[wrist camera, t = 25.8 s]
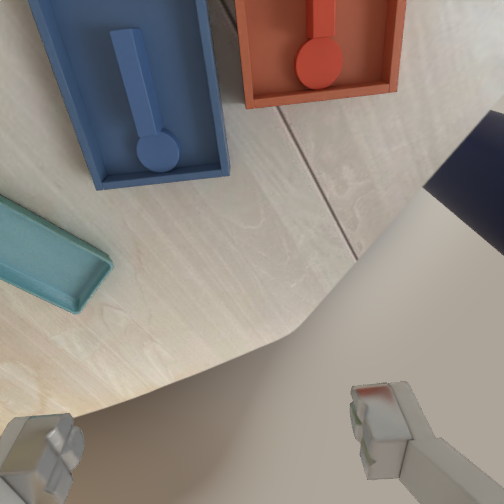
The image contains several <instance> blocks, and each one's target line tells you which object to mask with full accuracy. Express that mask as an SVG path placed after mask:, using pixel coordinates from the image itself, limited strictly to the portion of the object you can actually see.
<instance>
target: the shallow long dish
mask: <svg viewBox="0 0 504 504" xmlns="http://www.w3.org/2000/svg"><path fill="white" fill-rule="evenodd" d="M113 267H114V264H113V262H112V260H111V259H110V258H109V256H108V255H107V254H105V253H103V252H102V251H100V250H98V249H96V248H95V247H93V246H91V245H89V244H88V243H86V242H84V241H82V240H80V239H79V238H77V237H75V236H73V235H71V234H70V233H68V232H66V231H64V230H63V229H61V228H59V227H57V226H55V225H54V224H52V223H50V222H48V221H47V220H45V219H43V218H41V217H39V216H38V215H36V214H34V213H32V212H31V211H29V210H27V209H25V208H23V207H22V206H20V205H18V204H16V203H14V202H13V201H11V200H9V199H7V198H5V197H4V196H2V195H0V280H2V281H5V282H7V283H9V284H11V285H13V286H15V287H17V288H20V289H22V290H24V291H26V292H28V293H30V294H32V295H34V296H36V297H38V298H41V299H43V300H45V301H47V302H49V303H51V304H53V305H55V306H58V307H60V308H62V309H64V310H66V311H68V312H70V313H73V314H80V313H81V311H82V310H83V308H84V307H85V305H86V304H87V302H88V301H89V300H90V298H91V297H92V295H93V294H94V293H95V291H96V290H97V289H98V287H99V286H100V285H101V283H102V282H103V281H104V279H105V278H106V277H107V276H108V274H109V273H110V272H111V270H112V269H113Z"/></svg>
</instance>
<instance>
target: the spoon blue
mask: <svg viewBox="0 0 504 504" xmlns="http://www.w3.org/2000/svg"><path fill="white" fill-rule="evenodd" d="M109 33H110V36H111V40H112V44H113V47H114V51H115V54H116V58H117V62H118V65H119V69H120V72H121V76H122V80H123V83H124V87H125V90H126V94H127V98H128V101H129V105H130V108H131V112H132V116H133V119H134V123H135V127H136V130H137V134H138V137H140V138H139V140H138V142H137V146H136V151H137V156H138V158H139V160H140V162H141V163H142V164H143V165H144V166H145V167H146V168H147V169H149V170H151V171H154V172H158V173H163V172H167V171H170V170H171V169H173V168H174V167H175V166H176V164H177V163H178V161H179V158H180V155H181V146H180V143H179V141H178V139H177V138H176V136H175V135H174V134H173V133H171V132H170V131H168V130H166V129H164V128H163V127H164V126H163V121H162V117H161V113H160V109H159V104H158V100H157V96H156V92H155V87H154V83H153V79H152V75H151V70H150V66H149V62H148V58H147V53H146V49H145V45H144V41H143V36H142V32H141V29H140V28H127V29H119V30H112V31H109Z"/></svg>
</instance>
